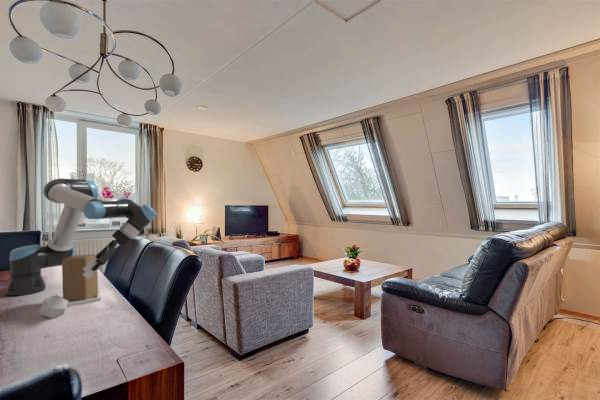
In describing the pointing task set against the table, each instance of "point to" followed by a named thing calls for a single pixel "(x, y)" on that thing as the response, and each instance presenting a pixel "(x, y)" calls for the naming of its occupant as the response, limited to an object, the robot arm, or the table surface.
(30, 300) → the table surface
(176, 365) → the table surface
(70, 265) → the wooden block
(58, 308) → the die
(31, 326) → the table surface
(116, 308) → the table surface
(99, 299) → the base frame
